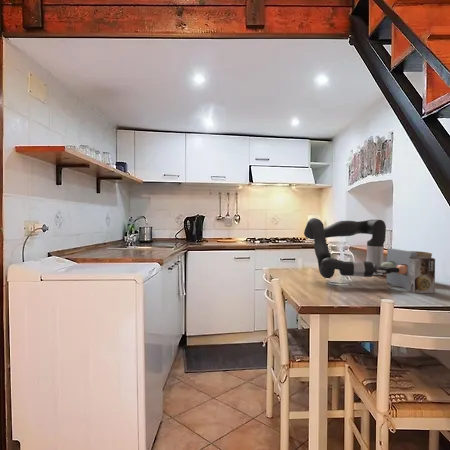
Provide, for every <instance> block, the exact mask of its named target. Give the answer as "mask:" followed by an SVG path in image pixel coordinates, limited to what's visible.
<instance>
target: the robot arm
mask: <svg viewBox="0 0 450 450" xmlns="http://www.w3.org/2000/svg"><path fill="white" fill-rule="evenodd" d="M386 226H387V225H386V222H385V221H384V220H383V219H367V220H362V221H355V220H338V221H336V222H334V223H332V224H330V225H328V226H324V223H323V222H322V221H321V219H318V218H314V217H313V218H310V219H309V220H308V221H307V223H306V226H305V228H304V231H303V236H304V237H305V238H306V239H309V240H313V244H314V252H315V256H316V259H317V264H318V271H319V274H320V276H321V277H323V278H324V279H331V278H333V276H334V274H335V270H338V272H339V274H340V275H341V276H345V277H347V276H348V277H349V276H350V277H356V278H357V277H360V278H361V277H363V278H372V277H373V276H383V275H387V274H389V273H391V272H396V273H398V272H399V268H392V267H386V266H381V263H383V262H384V246H385V245H384V244H385V242H386V233H387V227H386ZM358 234H362V235H363V234H364V235H365V234H367V235H371V238H370V239H369V240H367V242H366V258H365V260H366V261H365V260H364V261H357V260H355V261H343V260H340V259H336V258H333V257H331V253H330V250H329V247H328V244H327V240H326V239H327V238H337V237H351V236H355V235H358Z"/></svg>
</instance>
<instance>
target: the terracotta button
mask: <svg viewBox="0 0 450 450" xmlns="http://www.w3.org/2000/svg"><path fill="white" fill-rule="evenodd" d="M396 268H399V272H398V274H407V268H408V265H397V267H396Z"/></svg>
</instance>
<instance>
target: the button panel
mask: <svg viewBox="0 0 450 450" xmlns="http://www.w3.org/2000/svg"><path fill="white" fill-rule="evenodd" d="M386 251H387V254H386V262H395V268H396V267H397V265H408V268H407V274H398V273H396V272H391V273H389V274H386V283H388V284H392V285H395V286H397V287H400V288H402V289H406V290H408V291H410V290H409V259H410V257H417V252H411V251H412V250H406V249H405V250H404V249H399V248H398V249H396V248H387V249H386Z"/></svg>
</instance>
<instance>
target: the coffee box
mask: <svg viewBox="0 0 450 450" xmlns="http://www.w3.org/2000/svg"><path fill="white" fill-rule="evenodd" d="M408 291H410V292H412V293H414V294H436V292H435V291H436V258H434V257H410V259H409V290H408Z"/></svg>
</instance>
